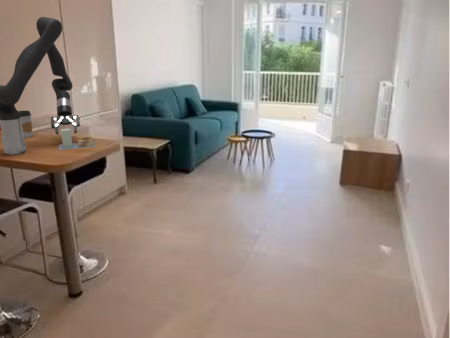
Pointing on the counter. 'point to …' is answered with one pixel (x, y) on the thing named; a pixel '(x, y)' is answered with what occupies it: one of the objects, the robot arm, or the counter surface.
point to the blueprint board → (75, 145)
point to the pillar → (66, 138)
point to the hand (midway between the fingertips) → (66, 133)
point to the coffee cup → (26, 123)
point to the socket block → (85, 142)
